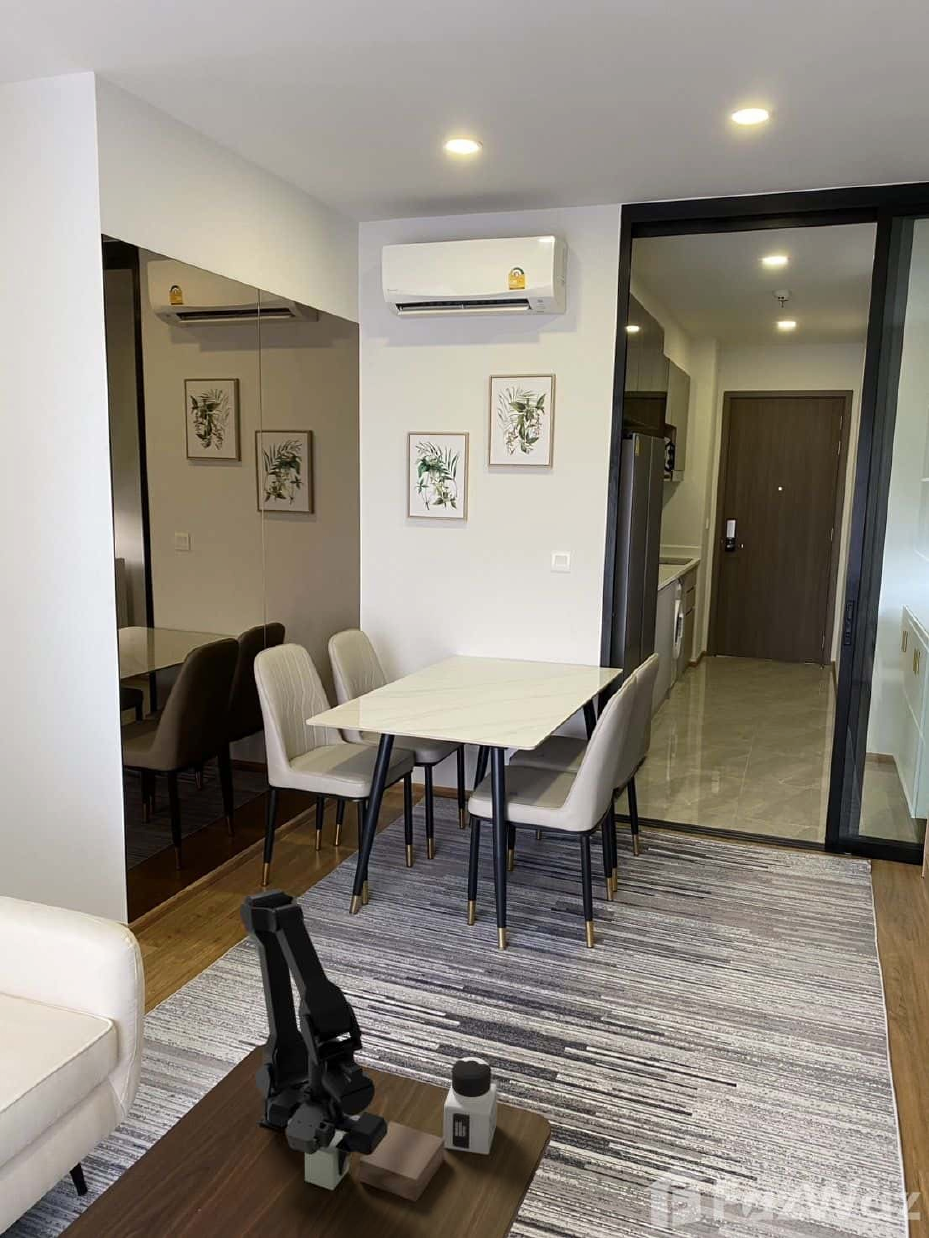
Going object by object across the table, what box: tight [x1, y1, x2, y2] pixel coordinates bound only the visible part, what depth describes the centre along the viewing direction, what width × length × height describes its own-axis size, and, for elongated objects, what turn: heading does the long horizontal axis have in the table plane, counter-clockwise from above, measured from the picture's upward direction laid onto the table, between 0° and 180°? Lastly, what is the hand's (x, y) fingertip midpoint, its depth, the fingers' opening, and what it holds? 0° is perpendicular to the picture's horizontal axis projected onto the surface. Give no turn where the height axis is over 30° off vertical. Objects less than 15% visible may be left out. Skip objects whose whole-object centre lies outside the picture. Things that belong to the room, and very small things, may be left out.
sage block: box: [304, 1130, 350, 1191], centre depth 145 cm, size 5×5×6 cm
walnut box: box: [358, 1120, 445, 1202], centre depth 148 cm, size 10×10×4 cm
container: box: [442, 1056, 498, 1156], centre depth 155 cm, size 8×8×13 cm
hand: (327, 1168), depth 146 cm, fingers closed on sage block, 5 cm apart
